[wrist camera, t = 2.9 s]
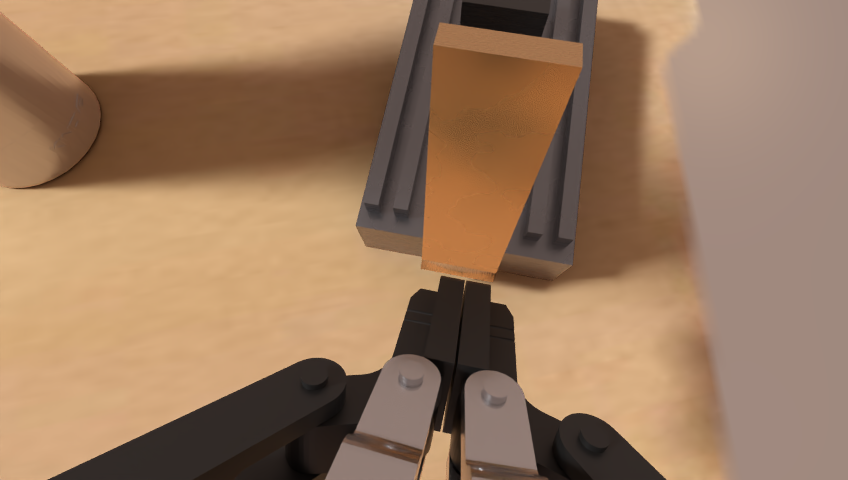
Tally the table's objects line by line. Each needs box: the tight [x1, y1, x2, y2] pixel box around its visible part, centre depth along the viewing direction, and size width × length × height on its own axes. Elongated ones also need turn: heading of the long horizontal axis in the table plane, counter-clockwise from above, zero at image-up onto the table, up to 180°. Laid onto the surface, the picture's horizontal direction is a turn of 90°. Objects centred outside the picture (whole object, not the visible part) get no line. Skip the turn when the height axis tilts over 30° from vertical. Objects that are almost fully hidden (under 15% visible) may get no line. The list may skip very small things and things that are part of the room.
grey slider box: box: [356, 0, 598, 281], centre depth 27 cm, size 12×20×7 cm, turn 169°
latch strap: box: [421, 22, 583, 282], centre depth 18 cm, size 4×14×1 cm
